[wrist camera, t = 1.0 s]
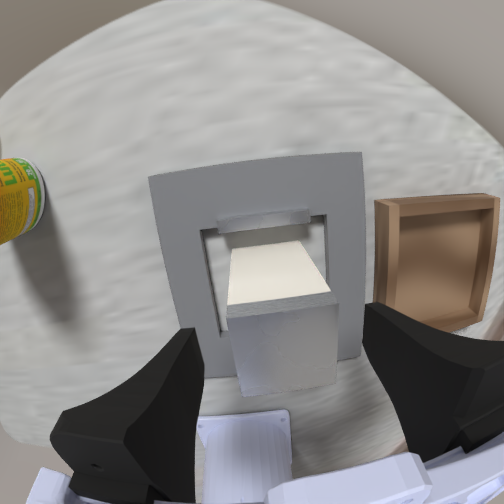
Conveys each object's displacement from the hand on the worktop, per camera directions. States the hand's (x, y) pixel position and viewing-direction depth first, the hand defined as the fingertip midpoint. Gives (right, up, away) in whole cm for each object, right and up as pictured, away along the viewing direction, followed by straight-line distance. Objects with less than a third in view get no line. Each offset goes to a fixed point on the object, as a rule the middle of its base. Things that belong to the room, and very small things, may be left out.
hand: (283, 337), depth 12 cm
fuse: (0, +2, +6) cm, 7 cm away
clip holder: (0, +2, +6) cm, 7 cm away
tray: (+12, +3, +7) cm, 14 cm away
